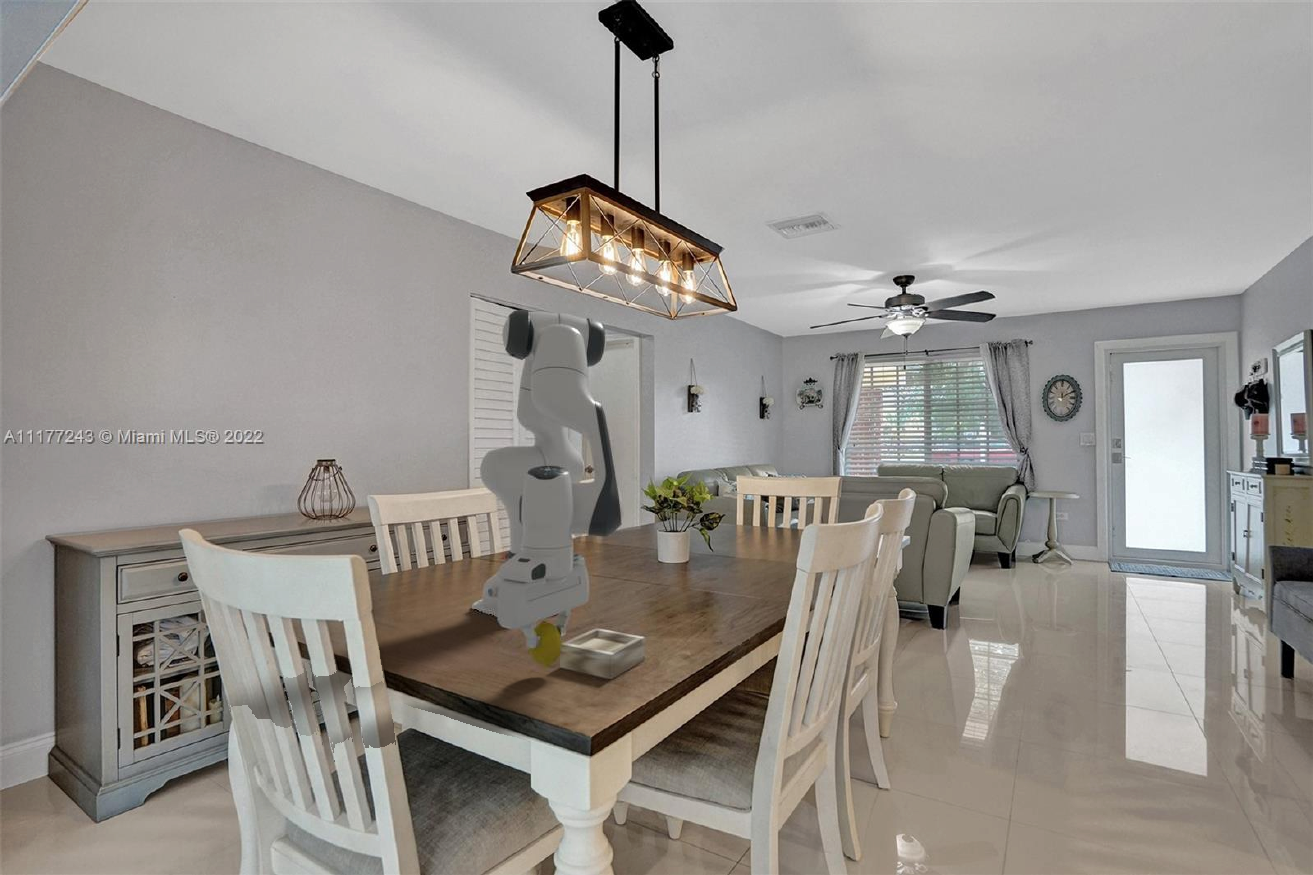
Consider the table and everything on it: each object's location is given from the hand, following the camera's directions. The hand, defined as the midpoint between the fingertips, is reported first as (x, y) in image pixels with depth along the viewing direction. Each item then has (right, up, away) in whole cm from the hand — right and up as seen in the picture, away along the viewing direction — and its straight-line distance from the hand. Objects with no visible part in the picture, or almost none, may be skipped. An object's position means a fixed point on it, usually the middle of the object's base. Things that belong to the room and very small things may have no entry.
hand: (546, 641), depth 109 cm
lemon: (0, -5, 0) cm, 5 cm away
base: (+9, -6, +6) cm, 13 cm away
